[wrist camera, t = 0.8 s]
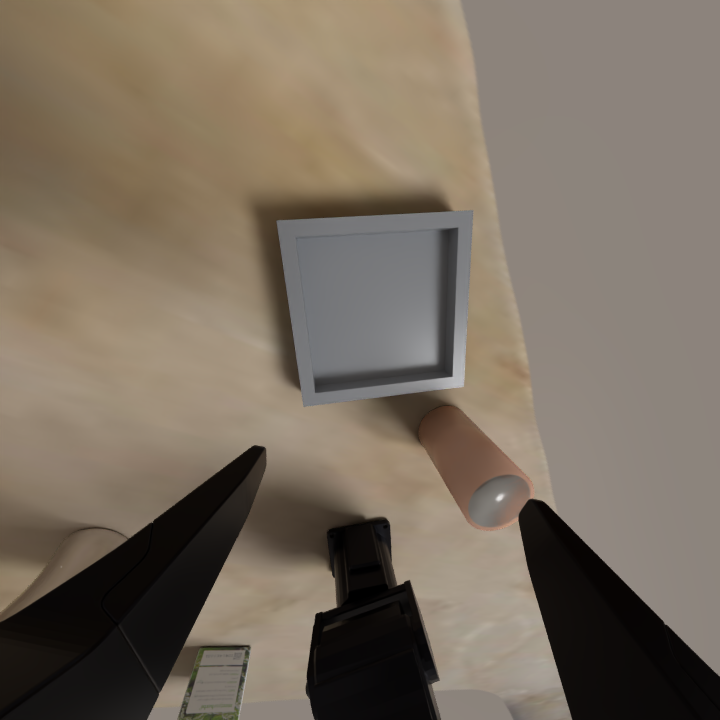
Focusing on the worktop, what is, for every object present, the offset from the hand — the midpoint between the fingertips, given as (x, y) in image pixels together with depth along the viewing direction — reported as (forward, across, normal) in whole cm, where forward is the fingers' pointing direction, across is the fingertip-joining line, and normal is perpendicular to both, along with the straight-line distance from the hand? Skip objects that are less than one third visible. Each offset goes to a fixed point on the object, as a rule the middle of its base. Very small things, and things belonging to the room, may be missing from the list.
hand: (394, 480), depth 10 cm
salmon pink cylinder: (+15, -7, +10) cm, 19 cm away
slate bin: (+16, +2, -1) cm, 16 cm away
